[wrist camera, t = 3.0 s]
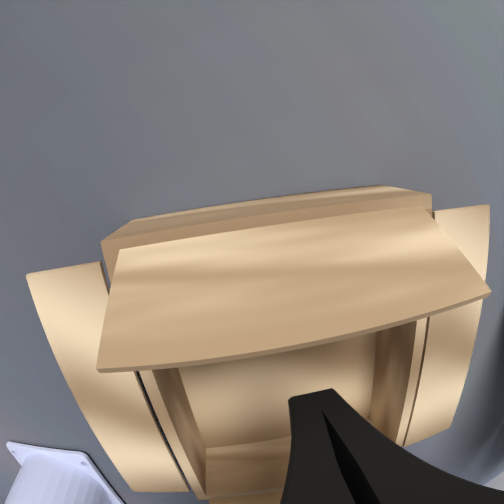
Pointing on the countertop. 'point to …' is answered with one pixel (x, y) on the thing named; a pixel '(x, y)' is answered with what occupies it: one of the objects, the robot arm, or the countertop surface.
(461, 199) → the countertop surface
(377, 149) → the countertop surface
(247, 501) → the flap far
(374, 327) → the flap near
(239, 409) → the carton
